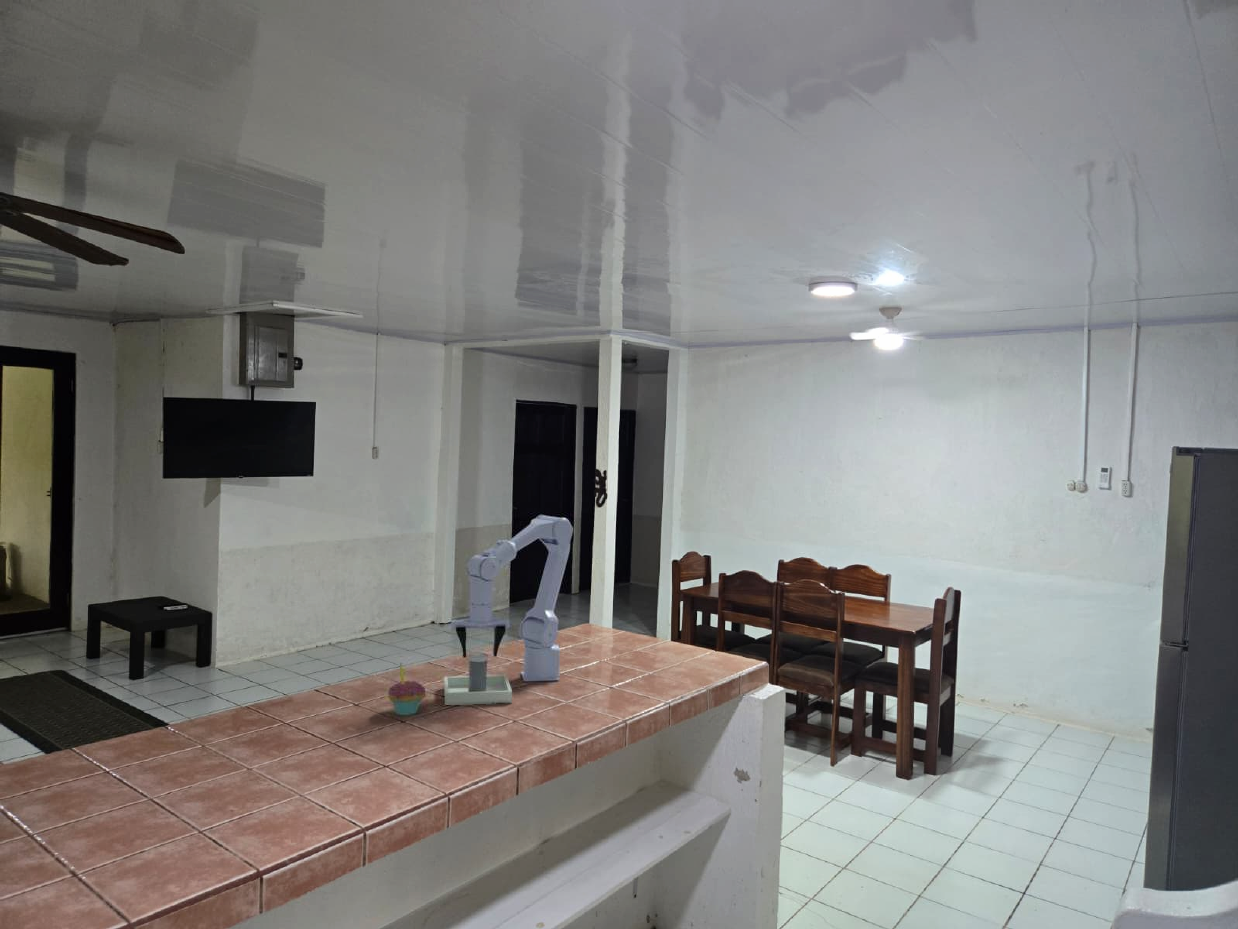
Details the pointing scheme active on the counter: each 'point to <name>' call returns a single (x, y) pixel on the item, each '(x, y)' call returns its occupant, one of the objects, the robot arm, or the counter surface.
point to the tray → (494, 693)
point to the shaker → (477, 672)
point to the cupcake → (406, 695)
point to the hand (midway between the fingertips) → (479, 656)
